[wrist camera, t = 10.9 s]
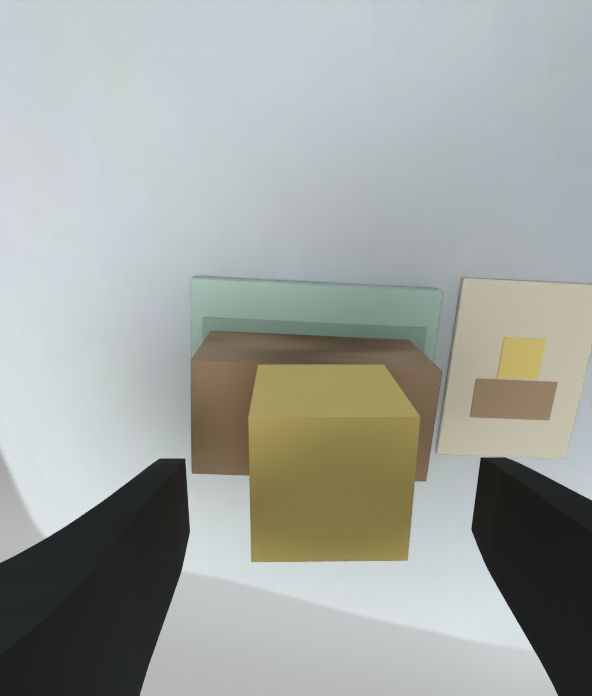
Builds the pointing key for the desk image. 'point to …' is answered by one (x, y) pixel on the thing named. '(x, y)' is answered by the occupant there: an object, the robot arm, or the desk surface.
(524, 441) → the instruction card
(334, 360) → the walnut brick
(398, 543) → the ochre cube
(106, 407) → the desk surface
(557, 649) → the robot arm
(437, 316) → the baseplate
